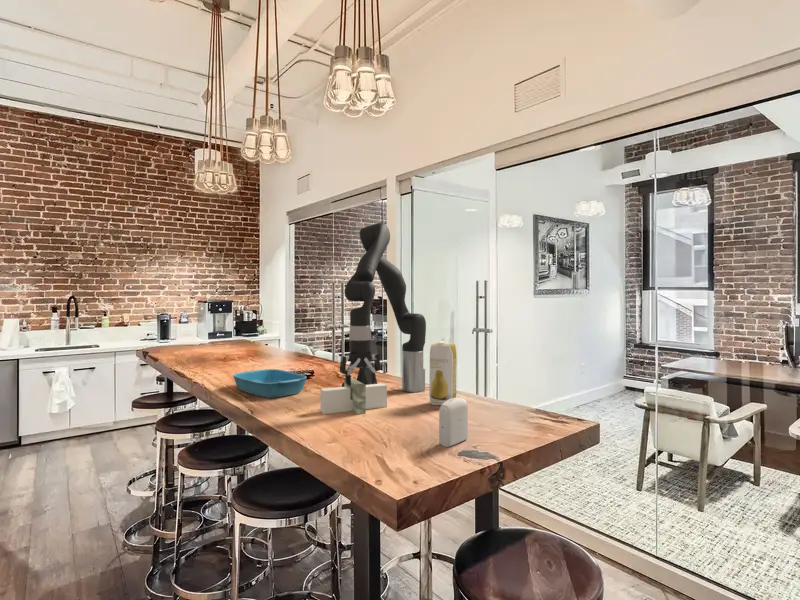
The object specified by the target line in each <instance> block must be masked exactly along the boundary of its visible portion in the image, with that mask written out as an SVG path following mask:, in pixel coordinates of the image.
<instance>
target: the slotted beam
mask: <svg viewBox="0 0 800 600" xmlns="http://www.w3.org/2000/svg"><path fill="white" fill-rule="evenodd" d="M319 394H320V396H319V398H320V399H319V400H320V401H319V402H320V406H319V407H320V412H321V413H322V415H327V414H337V413H345V412H353V399H352V398H350V388H348V387H341V386H340V387H339V386H338V387H327V388H320V393H319ZM381 407H382V408H387V407H388V385H387V384H385V383H383V382H382V383H377V384H370V385H366V410H371V409H372V408H373V409H379V408H380V409H381Z"/></svg>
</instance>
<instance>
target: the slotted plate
mask: <svg viewBox="0 0 800 600" xmlns="http://www.w3.org/2000/svg"><path fill="white" fill-rule="evenodd" d="M343 380H344V381H343V383H344V387H348V388H350V398H352V399H353V411H352V412H353V413H355V414H356V415H362V414H363V415H364V414H365V415H366V410H367V409H366V385H365V384H363V383H361V382H359V381H357V379H355V378H353V377H351V386H348V385H347V384H346V383H345V378H344V379H343Z"/></svg>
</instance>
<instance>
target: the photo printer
mask: <svg viewBox="0 0 800 600" xmlns="http://www.w3.org/2000/svg"><path fill="white" fill-rule="evenodd" d="M438 411H439V413H438V415H439V418H438V419H439V420H438V423H439V424H438V425H439V426H438V428H439V429H438V430H439V431H438V437H439V438H438V442H439V444H440V445H441V446H442V447H445V446H446V448H448V447H452V446H455V445H457V444H459V443H461V442H463V441H465V440H467V439H468V437H469V405H468V402H467V401H466V399H464V398H460V397H456V398H452V399H449V400H447V401H446V402H444V403H443V404H442V405H441V406H439V410H438Z"/></svg>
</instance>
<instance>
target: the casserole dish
mask: <svg viewBox="0 0 800 600" xmlns="http://www.w3.org/2000/svg"><path fill="white" fill-rule="evenodd" d="M232 376H233V379H234V382H235V385H236V387H237V388H238V389H239V390H240V391H243V392H244V393H247V392H248V394H250V393H251V394H250V395H253V394H254V396H257V397H260V396H261V398H264V397H265V398H266V399H275V398H281V397H286V396H292V395H297V394H299V393H300V392H301V391H302V390H303V389H304V388H305V387H304V386H305V384H306V380H307V376H306V375H304V374H301V373H296V372H292V371H287V370H282V369H275V368H272V369H271V368H270V369H269V368H268V369H255V370H247V371H242V372H238V373H234V374H233V375H232Z"/></svg>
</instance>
